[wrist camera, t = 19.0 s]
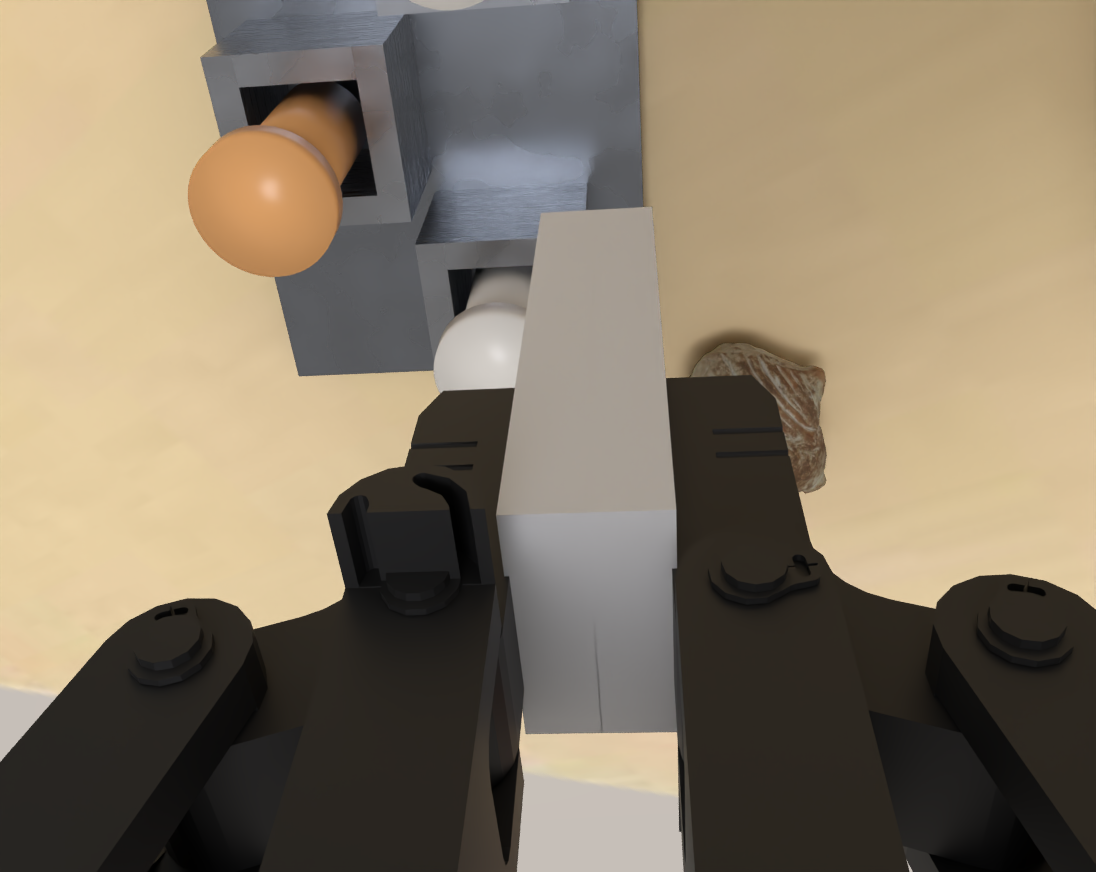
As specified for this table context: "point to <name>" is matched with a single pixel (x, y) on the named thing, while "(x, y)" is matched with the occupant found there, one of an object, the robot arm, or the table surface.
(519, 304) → the plug
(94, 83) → the table surface
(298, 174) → the plug terracotta
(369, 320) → the gray socket stand
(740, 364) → the seashell
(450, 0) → the plug
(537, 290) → the robot arm
